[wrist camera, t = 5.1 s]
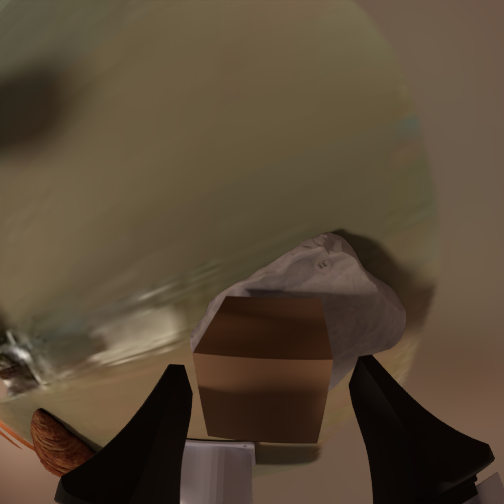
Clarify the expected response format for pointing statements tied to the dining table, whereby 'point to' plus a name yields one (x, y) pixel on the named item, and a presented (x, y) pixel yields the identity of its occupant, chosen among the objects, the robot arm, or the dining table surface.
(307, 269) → the stone block
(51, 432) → the pastry
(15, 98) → the dining table surface
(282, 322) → the walnut cube
